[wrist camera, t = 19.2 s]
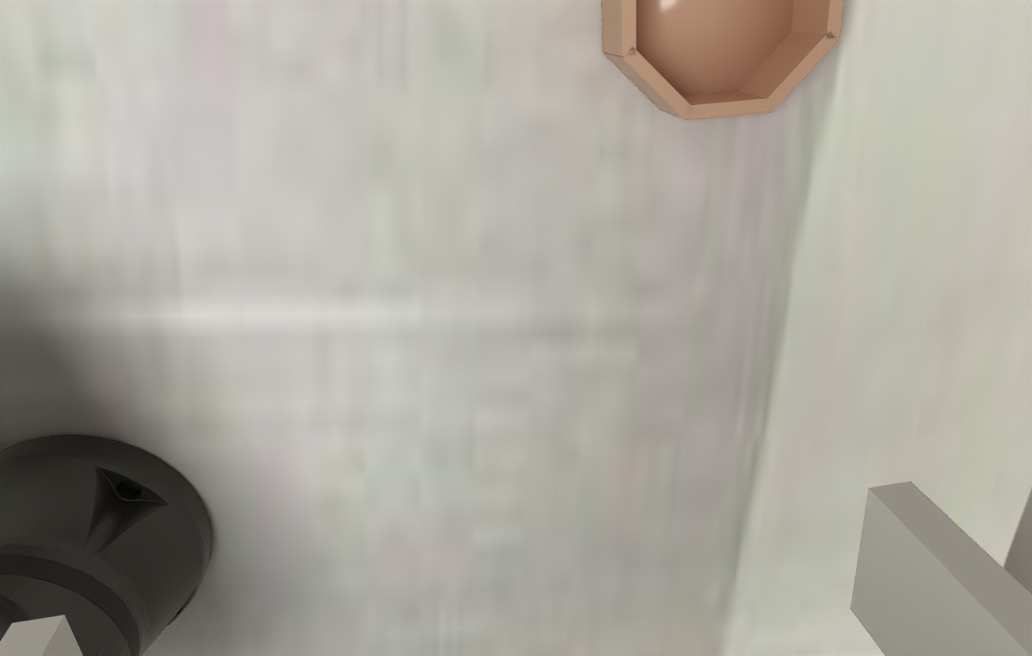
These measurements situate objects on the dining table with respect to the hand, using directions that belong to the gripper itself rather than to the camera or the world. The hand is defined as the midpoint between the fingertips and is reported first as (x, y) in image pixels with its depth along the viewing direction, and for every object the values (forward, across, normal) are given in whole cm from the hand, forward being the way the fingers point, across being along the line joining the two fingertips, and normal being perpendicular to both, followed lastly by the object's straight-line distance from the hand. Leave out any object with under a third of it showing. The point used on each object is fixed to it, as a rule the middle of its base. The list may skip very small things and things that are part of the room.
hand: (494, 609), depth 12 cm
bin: (+31, +15, +9) cm, 36 cm away
